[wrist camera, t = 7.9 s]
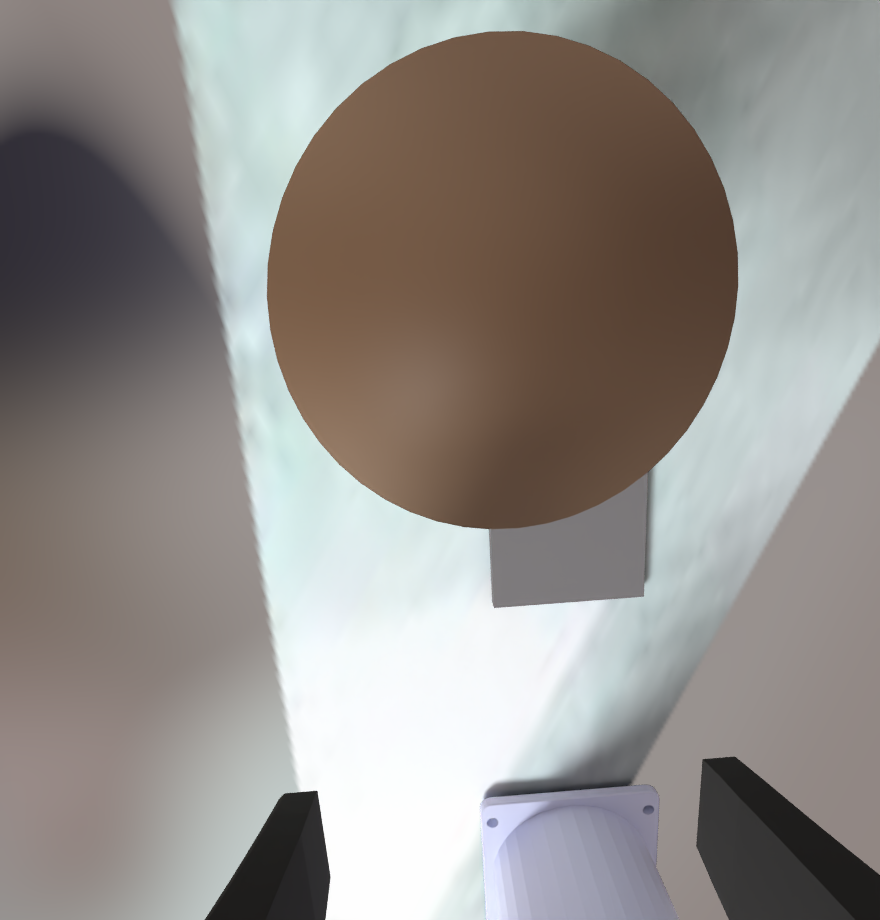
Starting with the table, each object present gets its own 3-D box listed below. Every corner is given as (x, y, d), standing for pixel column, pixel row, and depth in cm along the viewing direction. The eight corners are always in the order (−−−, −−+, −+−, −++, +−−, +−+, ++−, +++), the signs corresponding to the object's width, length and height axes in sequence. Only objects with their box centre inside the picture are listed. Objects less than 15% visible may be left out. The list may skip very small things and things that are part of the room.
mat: (638, 590, 19) (643, 596, 19) (492, 601, 19) (494, 607, 19) (643, 420, 18) (649, 423, 17) (484, 432, 18) (486, 434, 17)
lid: (627, 455, 9) (728, 507, 6) (346, 483, 9) (307, 549, 6) (626, 139, 8) (750, 7, 5) (301, 169, 8) (224, 55, 5)
